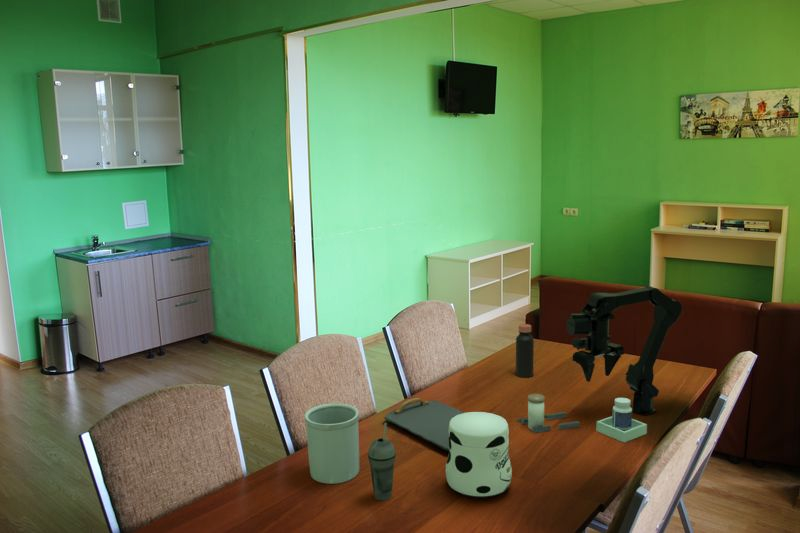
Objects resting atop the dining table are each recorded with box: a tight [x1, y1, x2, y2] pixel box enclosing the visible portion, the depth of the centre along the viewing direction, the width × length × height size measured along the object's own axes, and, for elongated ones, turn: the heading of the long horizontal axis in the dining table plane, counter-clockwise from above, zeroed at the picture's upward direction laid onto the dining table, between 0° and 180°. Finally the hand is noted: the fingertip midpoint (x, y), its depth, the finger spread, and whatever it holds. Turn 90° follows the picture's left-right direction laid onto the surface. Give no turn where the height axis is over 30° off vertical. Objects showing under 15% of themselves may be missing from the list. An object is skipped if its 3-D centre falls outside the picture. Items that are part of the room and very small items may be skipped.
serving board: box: [383, 397, 466, 452], centre depth 215 cm, size 39×23×6 cm, turn 37°
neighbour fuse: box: [527, 393, 546, 430], centre depth 216 cm, size 5×5×10 cm
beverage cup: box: [367, 422, 397, 501], centre depth 174 cm, size 7×7×20 cm
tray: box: [595, 415, 648, 443], centre depth 211 cm, size 11×11×3 cm
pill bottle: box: [611, 397, 633, 431], centre depth 210 cm, size 6×6×10 cm
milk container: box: [445, 411, 513, 499], centre depth 178 cm, size 17×17×18 cm
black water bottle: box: [515, 323, 535, 378], centre depth 264 cm, size 7×7×20 cm
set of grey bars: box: [515, 411, 581, 434], centre depth 219 cm, size 17×11×2 cm, turn 107°
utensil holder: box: [304, 402, 360, 485], centre depth 188 cm, size 15×15×18 cm
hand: (597, 378), depth 222 cm, fingers open, 9 cm apart
